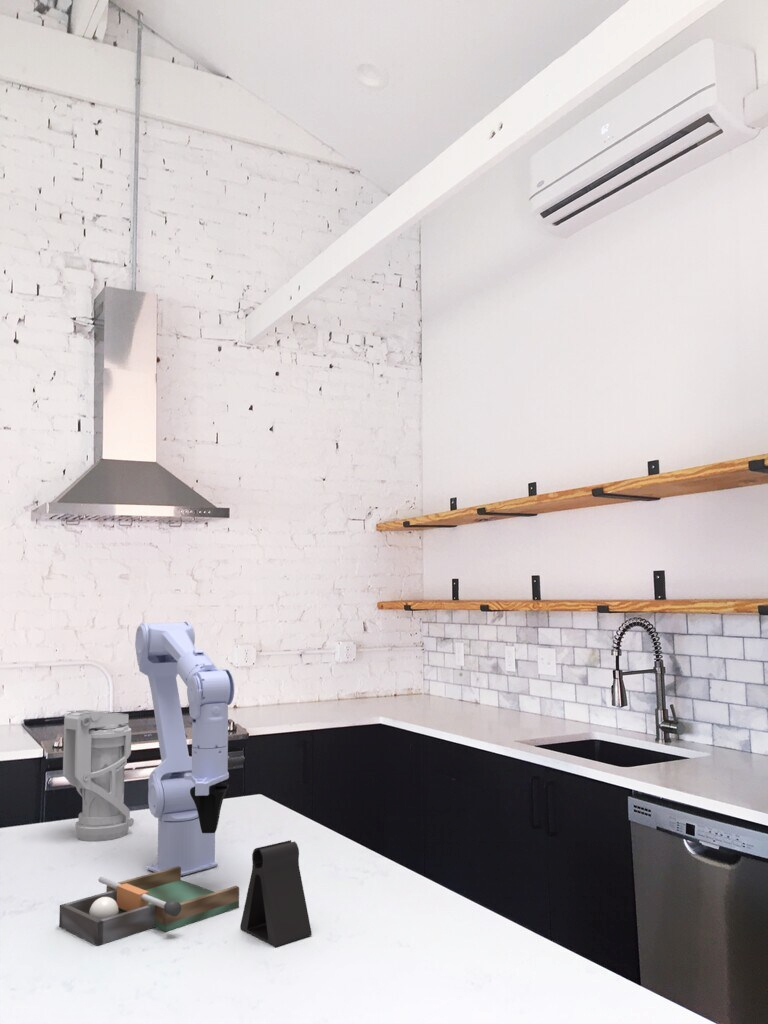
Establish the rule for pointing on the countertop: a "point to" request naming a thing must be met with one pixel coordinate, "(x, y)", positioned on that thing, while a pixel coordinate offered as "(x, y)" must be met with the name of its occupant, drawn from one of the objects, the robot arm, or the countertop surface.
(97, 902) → the ball
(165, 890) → the pitch
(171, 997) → the countertop surface
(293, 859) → the phone stand
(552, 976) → the countertop surface
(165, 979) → the countertop surface
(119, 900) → the kicker
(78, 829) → the lantern
